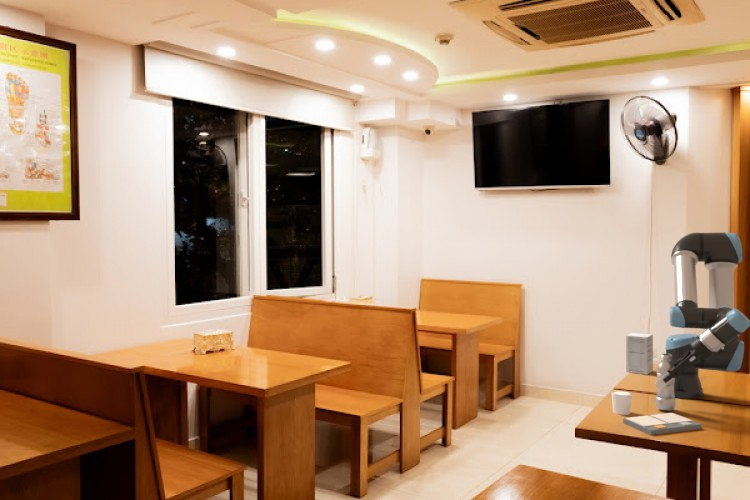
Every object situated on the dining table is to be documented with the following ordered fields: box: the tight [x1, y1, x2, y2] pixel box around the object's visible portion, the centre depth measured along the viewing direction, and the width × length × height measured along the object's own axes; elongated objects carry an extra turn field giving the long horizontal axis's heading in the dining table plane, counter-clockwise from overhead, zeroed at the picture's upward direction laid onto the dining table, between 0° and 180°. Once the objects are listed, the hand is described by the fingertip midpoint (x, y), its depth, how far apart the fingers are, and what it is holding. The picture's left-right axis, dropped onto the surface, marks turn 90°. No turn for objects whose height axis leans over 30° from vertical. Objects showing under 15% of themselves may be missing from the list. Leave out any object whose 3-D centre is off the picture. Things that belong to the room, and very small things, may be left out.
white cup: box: [610, 390, 633, 416], centre depth 224 cm, size 7×7×7 cm
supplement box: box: [625, 332, 654, 375], centre depth 286 cm, size 10×9×17 cm
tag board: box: [622, 412, 703, 436], centre depth 209 cm, size 20×13×2 cm, turn 107°
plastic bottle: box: [655, 353, 677, 412], centre depth 226 cm, size 6×7×20 cm
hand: (658, 382), depth 227 cm, fingers open, 13 cm apart
